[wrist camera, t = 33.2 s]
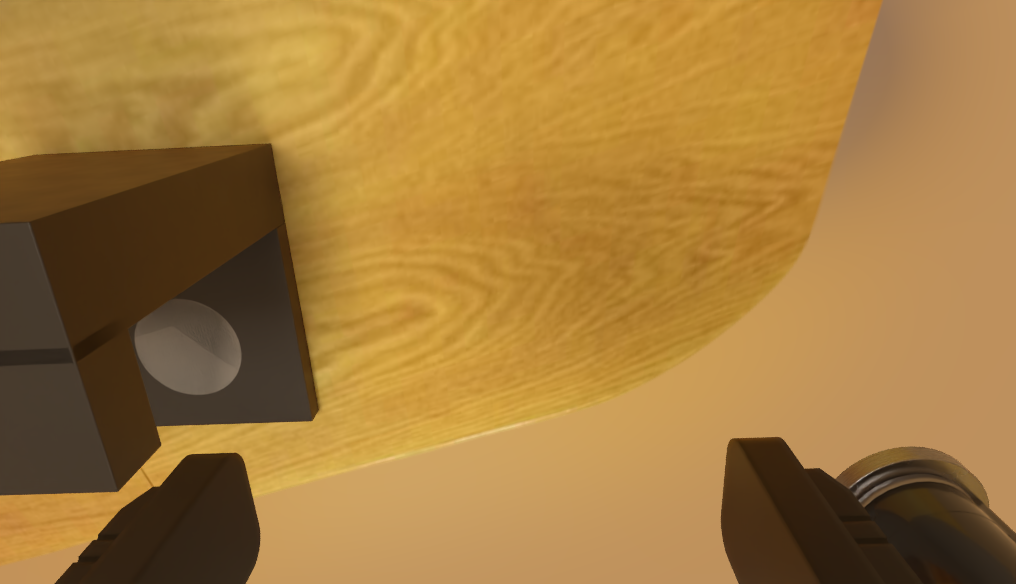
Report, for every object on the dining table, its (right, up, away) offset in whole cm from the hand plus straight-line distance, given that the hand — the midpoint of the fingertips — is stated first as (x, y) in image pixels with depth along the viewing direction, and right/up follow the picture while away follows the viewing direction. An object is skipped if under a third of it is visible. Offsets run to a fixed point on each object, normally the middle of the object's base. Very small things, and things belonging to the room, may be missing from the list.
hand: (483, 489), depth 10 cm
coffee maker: (-21, +3, +31) cm, 38 cm away
